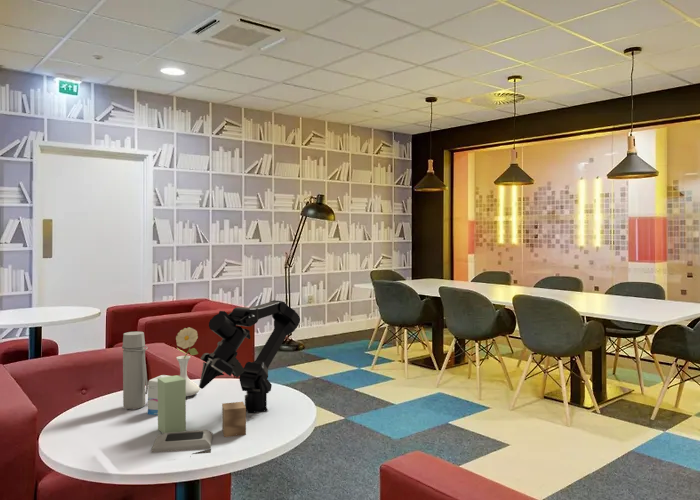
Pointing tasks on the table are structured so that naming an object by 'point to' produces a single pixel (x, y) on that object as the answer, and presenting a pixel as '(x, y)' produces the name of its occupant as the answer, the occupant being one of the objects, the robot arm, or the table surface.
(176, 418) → the sage key
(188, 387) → the flower in vase
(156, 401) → the ink box
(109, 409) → the table surface
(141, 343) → the water bottle
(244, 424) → the walnut block
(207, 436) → the grey tray
